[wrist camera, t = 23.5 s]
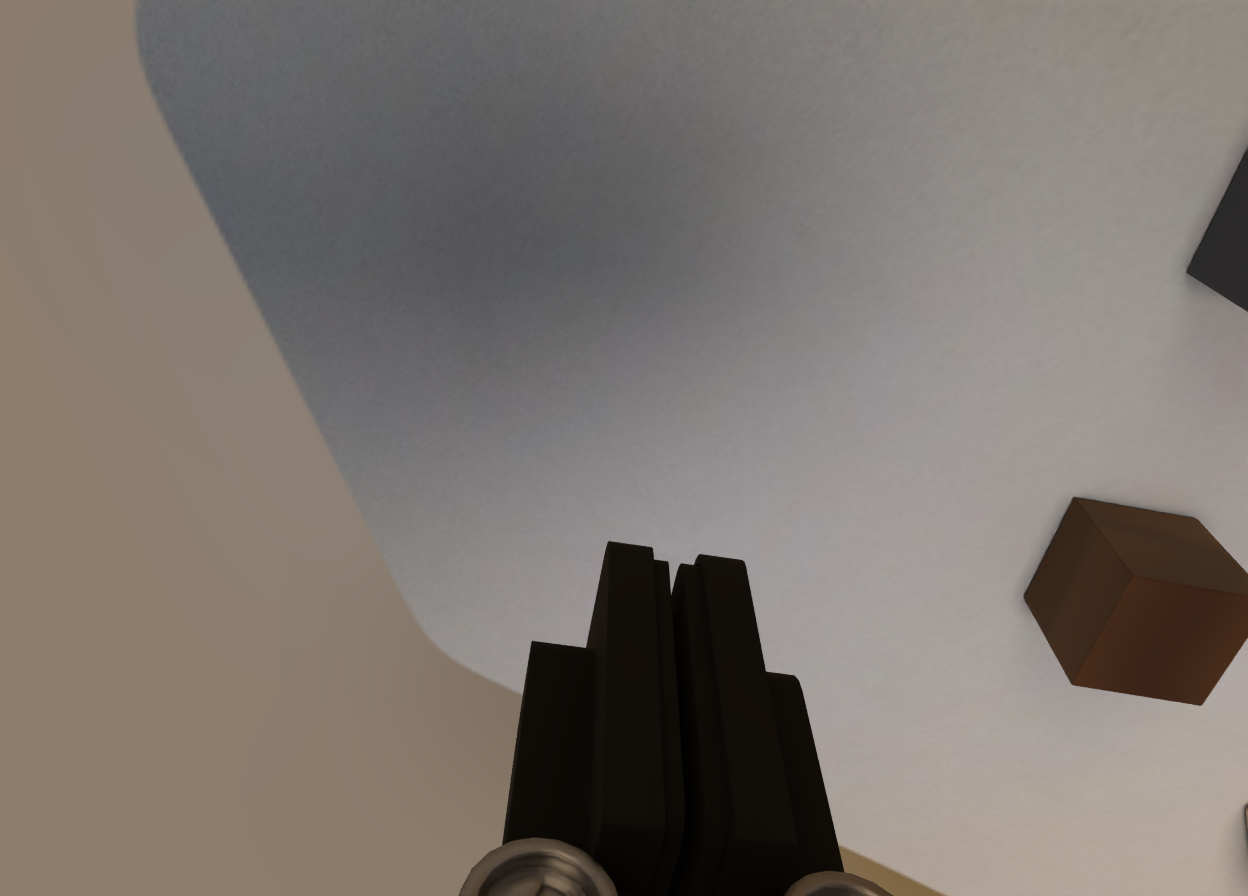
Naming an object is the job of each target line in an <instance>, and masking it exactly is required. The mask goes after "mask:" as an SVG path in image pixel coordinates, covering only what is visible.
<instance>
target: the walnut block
mask: <svg viewBox="0 0 1248 896" xmlns="http://www.w3.org/2000/svg"><path fill="white" fill-rule="evenodd" d="M1024 600H1025V601H1026V603H1027V605H1028V607H1029V609H1030V610H1031V612H1032V614H1033V616H1034V618H1035V619H1036V621H1037V623H1038V625H1039V627H1040V628H1041V630H1042V632H1043V634H1044V636H1045V637H1046V639H1047V641H1048V643H1049V645H1050V646H1051V648H1052V650H1053V652H1054V654H1055V656H1056V657H1057V659H1058V661H1059V663H1060V665H1061V666H1062V668H1063V670H1064V672H1065V674H1066V675H1067V677H1068V679H1069V681H1070V683H1071V684H1072V685H1075V686H1081V687H1087V688H1093V689H1100V690H1106V691H1112V692H1118V693H1124V694H1131V695H1137V696H1143V697H1149V698H1156V699H1162V700H1168V701H1174V702H1181V703H1187V704H1193V705H1199V706H1201V705H1203V703H1204V702H1205V700H1206V699H1207V697H1208V696H1209V694H1210V693H1211V691H1212V690H1213V688H1214V687H1215V685H1216V684H1217V682H1218V681H1219V679H1220V678H1221V676H1222V675H1223V674H1224V672H1225V671H1226V669H1227V668H1228V666H1229V665H1230V663H1231V662H1232V660H1233V659H1234V657H1235V656H1236V654H1237V653H1238V651H1239V650H1240V648H1241V647H1242V645H1243V644H1244V642H1245V641H1246V639H1247V638H1248V573H1247V572H1246V571H1245V570H1244V569H1243V568H1242V567H1241V566H1240V565H1239V564H1238V563H1237V561H1236V560H1235V559H1234V558H1233V557H1232V556H1231V555H1230V554H1229V553H1228V552H1227V551H1226V550H1225V549H1224V547H1223V546H1222V545H1221V544H1220V543H1219V542H1218V541H1217V540H1216V539H1215V538H1214V537H1213V536H1212V534H1211V533H1210V532H1209V531H1208V530H1207V529H1206V528H1205V527H1204V526H1203V525H1202V524H1201V523H1200V521H1199V520H1198V519H1195V518H1189V517H1184V516H1178V515H1172V514H1166V513H1160V512H1155V511H1149V510H1143V509H1137V508H1132V507H1126V506H1120V505H1114V504H1109V503H1103V502H1097V501H1091V500H1085V499H1080V498H1074V499H1073V501H1072V503H1071V505H1070V507H1069V509H1068V511H1067V513H1066V515H1065V517H1064V519H1063V521H1062V523H1061V525H1060V527H1059V529H1058V531H1057V533H1056V535H1055V537H1054V539H1053V541H1052V543H1051V545H1050V547H1049V549H1048V551H1047V553H1046V555H1045V557H1044V559H1043V561H1042V563H1041V565H1040V567H1039V569H1038V571H1037V573H1036V575H1035V577H1034V579H1033V581H1032V583H1031V585H1030V587H1029V589H1028V591H1027V593H1026V595H1025V597H1024Z"/></svg>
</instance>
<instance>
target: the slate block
mask: <svg viewBox="0 0 1248 896" xmlns="http://www.w3.org/2000/svg"><path fill="white" fill-rule="evenodd" d="M1187 273H1188V274H1189V275H1191V276H1193V277H1194V278H1196V279H1197V280H1199V281H1200V282H1202V283H1203V284H1205V285H1207V286H1208V287H1210V288H1211V289H1213V290H1214V291H1216V292H1218V293H1219V294H1221V295H1222V296H1224V297H1225V298H1227V299H1228V300H1230V301H1232V302H1233V303H1235V304H1236V305H1238V306H1239V307H1241V308H1243V309H1244V310H1246V311H1247V312H1248V151H1247V153H1246V155H1245V157H1244V159H1243V161H1242V163H1241V165H1240V167H1239V169H1238V171H1237V173H1236V175H1235V177H1234V179H1233V181H1232V183H1231V185H1230V187H1229V189H1228V191H1227V193H1226V195H1225V197H1224V199H1223V201H1222V203H1221V205H1220V207H1219V209H1218V211H1217V213H1216V215H1215V217H1214V219H1213V221H1212V223H1211V225H1210V227H1209V229H1208V231H1207V233H1206V235H1205V237H1204V239H1203V241H1202V243H1201V245H1200V247H1199V249H1198V251H1197V253H1196V255H1195V257H1194V259H1193V261H1192V263H1191V265H1190V267H1189V269H1188V271H1187Z"/></svg>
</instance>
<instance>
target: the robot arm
mask: <svg viewBox="0 0 1248 896" xmlns="http://www.w3.org/2000/svg"><path fill="white" fill-rule="evenodd" d="M459 896H893V895H891V894H890V893H888V892H887V891H885V890H884V889H883V888H881V887H880V886H878V885H877V884H875V883H873V882H871V881H869V880H866V879H864V878H861V877H858V876H856V875H853V874H851V873H844V868H843V864H842V860H841V855H840V851H839V847H838V842H837V838H836V834H835V829H834V825H833V821H832V816H831V812H830V808H829V803H828V799H827V795H826V791H825V786H824V782H823V778H822V773H821V769H820V765H819V760H818V756H817V752H816V747H815V743H814V739H813V734H812V730H811V726H810V722H809V717H808V713H807V709H806V704H805V700H804V696H803V691H802V688H801V685H800V682H799V680H798V679H797V678H796V677H795V676H794V675H787V674H780V673H772V672H766V670H765V664H764V659H763V654H762V649H761V643H760V638H759V633H758V627H757V622H756V617H755V611H754V606H753V601H752V596H751V590H750V585H749V580H748V574H747V569H746V565H745V562H744V561H743V560H738V559H731V558H724V557H717V556H710V555H703V554H699V555H698V556H697V558H696V560H695V563H694V565H689V564H682V563H681V564H680V566H679V568H678V571H677V574H676V578H675V582H674V586H673V590H672V594H671V589H670V574H669V563H668V562H667V561H661V560H654V554H653V548H652V547H646V546H639V545H632V544H625V543H618V542H611V541H609V542H608V543H607V547H606V551H605V555H604V560H603V565H602V570H601V575H600V580H599V585H598V590H597V595H596V600H595V605H594V610H593V615H592V620H591V625H590V630H589V635H588V640H587V645H586V648H582V647H575V646H567V645H559V644H552V643H544V642H537V641H532V643H531V648H530V654H529V660H528V667H527V673H526V679H525V685H524V692H523V698H522V705H521V712H520V718H519V726H518V733H517V739H516V746H515V753H514V761H513V768H512V775H511V783H510V790H509V798H508V806H507V813H506V821H505V828H504V835H503V843H502V846H500V847H498V848H496V849H495V850H492V851H490V852H489V853H488V854H487V855H486V856H485V857H484V858H482V860H480V861H479V862H478V863H477V864H476V865H475V866H474V867H473V868H472V869H471V871H470V873H469V875H468V877H467V879H466V881H465V882H464V884H463V886H462V888H461V890H460V894H459Z"/></svg>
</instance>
